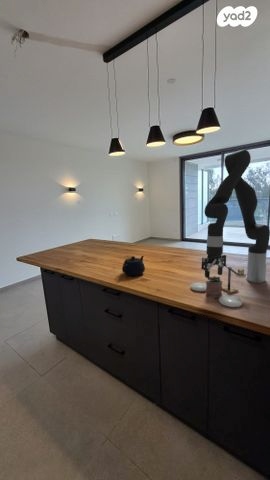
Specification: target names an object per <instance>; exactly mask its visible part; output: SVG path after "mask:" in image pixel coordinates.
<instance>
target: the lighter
mask: <svg viewBox="0 0 270 480" xmlns="http://www.w3.org/2000/svg"><path fill="white" fill-rule="evenodd" d="M205 284H206V291H205V296H206V297H207V298H208V297H210V298H217V297H221V296H223V293H222V291H223V290H222V287H223V280H221V277H220V276H215V275H214V276H210V277H209V278H207V280H206V281H205Z"/></svg>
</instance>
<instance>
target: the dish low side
mask: <svg viewBox="0 0 270 480" xmlns="http://www.w3.org/2000/svg"><path fill="white" fill-rule="evenodd" d="M218 297H219V298H218V302H219V304H221V305H223V306H226V307H229V308H239V307H241V306H242V305H243V300H242V299H241V298H239V297H237V296H235V295H234V296H233V295H228V294H227V295H226V294H225V295H222V296H218Z"/></svg>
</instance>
